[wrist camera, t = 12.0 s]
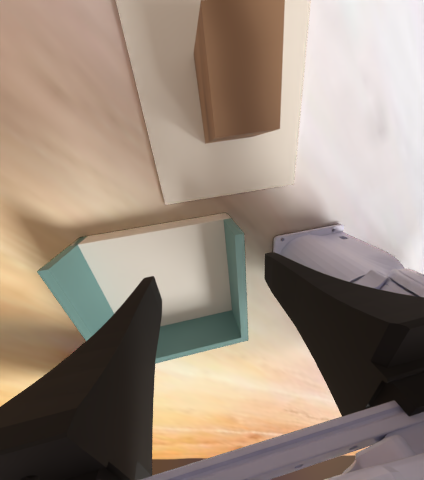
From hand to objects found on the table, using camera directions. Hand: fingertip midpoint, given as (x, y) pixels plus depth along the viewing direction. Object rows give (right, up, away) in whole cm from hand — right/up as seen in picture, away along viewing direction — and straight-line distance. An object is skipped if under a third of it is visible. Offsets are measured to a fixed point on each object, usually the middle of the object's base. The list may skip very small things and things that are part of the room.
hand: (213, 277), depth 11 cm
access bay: (-5, -2, +11) cm, 12 cm away
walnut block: (+1, +14, +3) cm, 15 cm away
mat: (+1, +14, +4) cm, 15 cm away
